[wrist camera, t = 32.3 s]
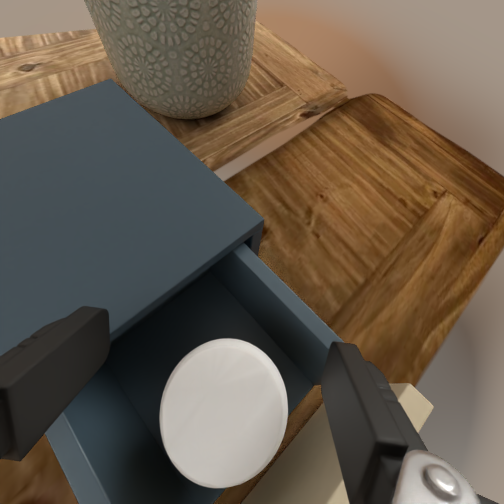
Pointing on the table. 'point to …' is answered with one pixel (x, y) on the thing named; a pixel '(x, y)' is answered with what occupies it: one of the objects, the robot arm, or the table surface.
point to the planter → (178, 51)
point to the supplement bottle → (223, 413)
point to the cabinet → (104, 213)
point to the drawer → (162, 365)
